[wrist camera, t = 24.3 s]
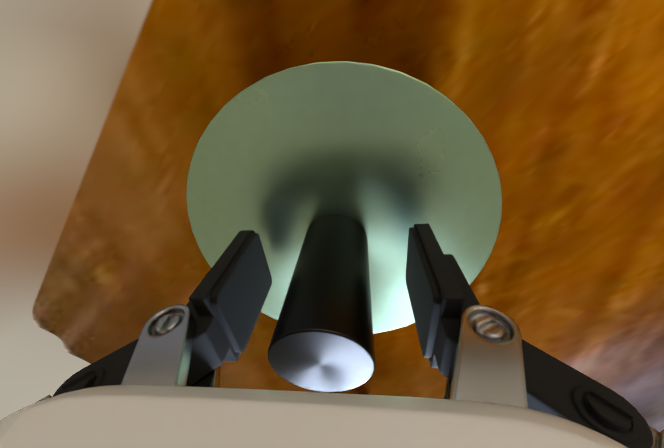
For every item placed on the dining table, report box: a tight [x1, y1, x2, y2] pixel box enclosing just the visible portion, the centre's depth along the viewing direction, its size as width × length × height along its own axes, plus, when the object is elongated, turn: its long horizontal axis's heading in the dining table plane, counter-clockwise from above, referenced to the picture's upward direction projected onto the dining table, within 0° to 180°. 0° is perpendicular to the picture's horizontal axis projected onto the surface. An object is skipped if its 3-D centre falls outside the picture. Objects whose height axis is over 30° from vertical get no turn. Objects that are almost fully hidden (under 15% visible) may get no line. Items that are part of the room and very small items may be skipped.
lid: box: [186, 61, 502, 392], centre depth 10 cm, size 15×15×7 cm
